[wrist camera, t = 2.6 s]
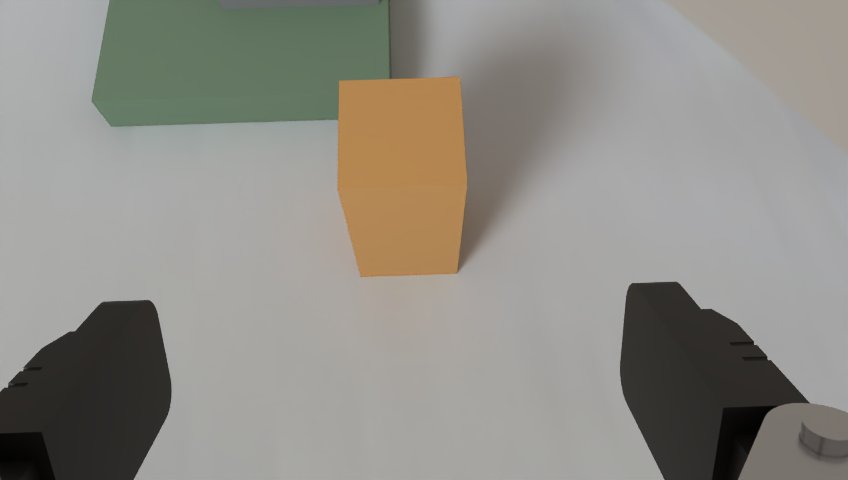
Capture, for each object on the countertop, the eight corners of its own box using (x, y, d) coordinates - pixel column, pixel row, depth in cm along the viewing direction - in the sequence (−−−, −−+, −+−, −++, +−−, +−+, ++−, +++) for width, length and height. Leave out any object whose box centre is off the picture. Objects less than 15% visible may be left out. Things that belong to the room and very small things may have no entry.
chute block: (360, 190, 38) (339, 80, 28) (452, 187, 38) (460, 77, 28) (360, 276, 36) (337, 188, 26) (457, 273, 36) (467, 184, 26)
